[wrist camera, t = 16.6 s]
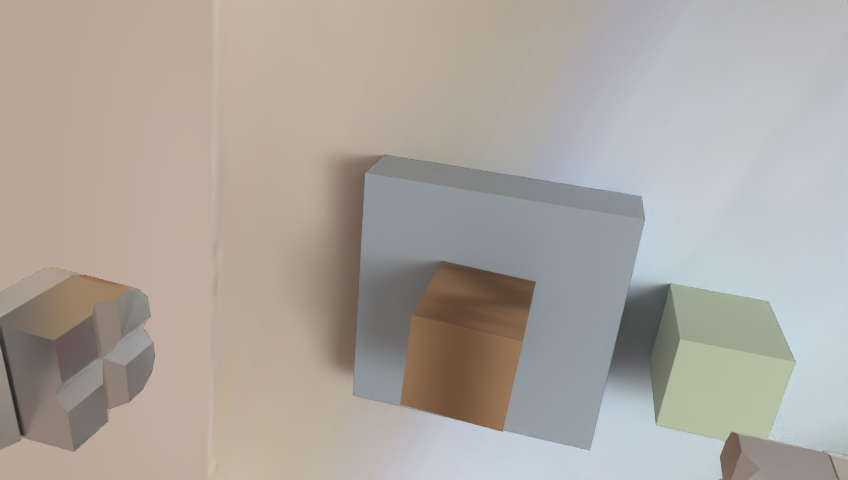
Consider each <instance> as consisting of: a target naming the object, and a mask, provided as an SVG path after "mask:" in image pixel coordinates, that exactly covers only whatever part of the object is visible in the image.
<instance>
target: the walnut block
mask: <svg viewBox="0 0 848 480" xmlns="http://www.w3.org/2000/svg"><path fill="white" fill-rule="evenodd" d="M535 284H536V282H535V281H531V280H526V279H522V278H517V277H513V276H508V275H504V274H499V273H495V272H491V271H486V270H482V269H477V268H473V267H468V266H464V265H459V264H455V263H450V262H446V261H441V263H440V265H439V267H438V269H437V270H436V272H435V274H434V276H433V278H432V280H431V281H430V283H429V285H428V287H427V289H426V290H425V292H424V294H423V296H422V298H421V300H420V301H419V303H418V305H417V307H416V309H415V311H414V312H413V314H412V320H411V327H410V335H409V342H408V349H407V357H406V364H405V371H404V379H403V386H402V393H401V401H400V405H404V406H408V407H412V408H416V409H419V410H423V411H427V412H431V413H434V414H438V415H442V416H446V417H449V418H453V419H457V420H461V421H464V422H468V423H472V424H476V425H480V426H483V427H487V428H491V429H495V430H498V431H502V432H503V429H504V424H505V420H506V415H507V411H508V406H509V402H510V397H511V393H512V389H513V384H514V380H515V375H516V371H517V366H518V362H519V357H520V353H521V348H522V344H523V339H524V334H525V330H526V325H527V321H528V316H529V312H530V307H531V302H532V298H533V293H534V289H535Z"/></svg>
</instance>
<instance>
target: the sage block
mask: <svg viewBox="0 0 848 480" xmlns="http://www.w3.org/2000/svg"><path fill="white" fill-rule="evenodd" d="M795 363H796V361H795V359H794V357H793V355H792V352H791V350H790V348H789V346H788V344H787V341H786V339H785V337H784V335H783V332H782V330H781V328H780V326H779V324H778V321H777V319H776V317H775V315H774V312H773V310H772V308H771V306H770V304H769V301H764V300H758V299H753V298H747V297H742V296H736V295H731V294H725V293H720V292H715V291H709V290H704V289H698V288H693V287H687V286H682V285H676V284H671V283H670V287H669V290H668V294H667V298H666V302H665V305H664V309H663V313H662V317H661V321H660V324H659V328H658V332H657V336H656V339H655V343H654V347H653V351H652V354H651V358H650V367H651V378H652V389H653V399H654V410H655V420H656V425H657V426H661V427H665V428H670V429H674V430H679V431H683V432H688V433H692V434H697V435H701V436H706V437H710V438H715V439H719V440H724V441H726V440H727V438H728V437H729V435H730V433H731V432H732V431H733V432H737V433H742V434H746V435H751V436H755V437H759V438H764V439H768V436H769V433H770V431H771V428H772V425H773V422H774V420H775V417H776V414H777V412H778V409H779V406H780V404H781V401H782V398H783V395H784V393H785V390H786V387H787V385H788V382H789V379H790V376H791V374H792V371H793V368H794V366H795Z"/></svg>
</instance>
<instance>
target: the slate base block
mask: <svg viewBox="0 0 848 480" xmlns="http://www.w3.org/2000/svg"><path fill="white" fill-rule="evenodd" d="M644 221H645V216H644V209H643V202H642V196H636V195H630V194H623V193H617V192H611V191H605V190H599V189H593V188H586V187H580V186H574V185H568V184H562V183H556V182H549V181H543V180H537V179H531V178H525V177H519V176H512V175H506V174H500V173H494V172H488V171H482V170H475V169H469V168H463V167H457V166H451V165H444V164H438V163H432V162H426V161H420V160H414V159H407V158H401V157H395V156H389V155H384V156H383V157H382V158H381V159H380V160H379V161H378V162H377V163H375V164H374V165H373V166H372V167H371V168H370V169H369V170H368V171H367V172H365V183H364V202H363V220H362V238H361V256H360V274H359V292H358V310H357V328H356V346H355V364H354V382H353V396H358V397H362V398H366V399H371V400H375V401H379V402H384V403H388V404H392V405H397V406H401V407H405V408H409V409H414V410H418V411H422V412H427V411H423V410H419V409H416V408H412V407H408V406H404V405H400V401H401V393H402V386H403V379H404V371H405V364H406V357H407V349H408V342H409V335H410V327H411V320H412V314H413V312H414V311H415V309H416V307H417V305H418V303H419V301H420V300H421V298H422V296H423V294H424V292H425V290H426V289H427V287H428V285H429V283H430V281H431V280H432V278H433V276H434V274H435V272H436V270H437V269H438V267H439V265H440V263H441V261H446V262H450V263H455V264H459V265H464V266H468V267H473V268H477V269H482V270H486V271H491V272H495V273H499V274H504V275H508V276H513V277H517V278H522V279H526V280H531V281H535V282H536V284H535V289H534V293H533V298H532V302H531V307H530V312H529V316H528V321H527V325H526V330H525V334H524V339H523V344H522V348H521V353H520V357H519V362H518V366H517V371H516V375H515V380H514V384H513V389H512V393H511V397H510V402H509V406H508V411H507V415H506V420H505V424H504V429H503V430H504V431H508V432H513V433H517V434H521V435H526V436H530V437H534V438H539V439H543V440H547V441H551V442H556V443H560V444H564V445H569V446H573V447H577V448H582V449H586V450H590V448H591V444H592V440H593V435H594V431H595V427H596V423H597V419H598V414H599V410H600V406H601V402H602V398H603V393H604V389H605V385H606V381H607V377H608V372H609V368H610V364H611V360H612V356H613V351H614V347H615V343H616V339H617V335H618V331H619V326H620V322H621V318H622V314H623V310H624V305H625V301H626V297H627V293H628V289H629V284H630V280H631V276H632V272H633V268H634V263H635V259H636V255H637V251H638V247H639V242H640V238H641V234H642V230H643V226H644ZM427 413H431V412H427ZM431 414H434V413H431ZM435 415H438V414H435ZM440 416H442V415H440ZM444 417H446V416H444ZM448 418H449V417H448ZM452 419H453V418H452Z"/></svg>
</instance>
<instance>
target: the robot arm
mask: <svg viewBox="0 0 848 480" xmlns="http://www.w3.org/2000/svg"><path fill="white" fill-rule="evenodd" d="M150 317H151V315H150V308H149V303H148V296H146V295H145V294H144V293H143V292H142V291H141V290H139V289H137V288H133V287H129V286H125V285H122V284H117V283H114V282H110V281H106V280H103V279H98V278H95V277H91V276H87V275H81V274H79V273H75V272H71V271H67V270H63V269H58V268H44V269H42V270H40V271H38V272H36V273H35V274H33V275H31V276H29V277H27V278H25V279H23V280H22V281H20V282H18V283H16V284H15V285H12V286H11V287H9V288H7V289H5V290H3V291H1V292H0V450H1V449H3V448H5V447H7V446H10V445H12V444H14V443H17V442H19V441H21V437H22V438H26V439H30V440H33V441H37V442H41V443H44V444H48V445H52V446H55V447H59V448H63V449H66V450H70V451H76V450H77V449H78V448H79V447H80V446H81V445H82V444H83V443H85V442H86V441H87V440H88V439H89V438H90V437H91V436H92V435H93V434H94V433H96V432H97V431H98V430H99V429H100V428H101V427H102V426H104V424H106V423H107V422H108V418H109V410H110V409H111V408H114V407H117V406H120V405H123V404H125V403H128V402H130V401H131V400H132V399H133V398H134V397H135V396H136V395H137V394H139V393H140V392H141V391H142V390H143V388H144V386H145V384H146V382H147V381H148V379H149V377H150V375H151V373H152V370H153V363H154V358H155V353H154V342H153V340H152V339H151V337H150V336H149V335H148V333H147V332H146V330H145V329H144V327H143V326H144V325H145V323H146V322H147V321H148V319H149V318H150ZM720 460H721V467H722V475H723V478H722V479H720V480H848V456H845V455H841V454H836V453H831V452H826V451H822V452H821V451H816V450H812V449H808V448H803V447H799V446H795V445H790V444H786V443H781V442H777V441H773V440H768V439H764V438H759V437H755V436H751V435H746V434H742V433H737V432H733V431H732V432H731V433H730V435H729V437H728V438H727V440H726V442H725V445H724V448H723V450H722V453H721V456H720Z"/></svg>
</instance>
